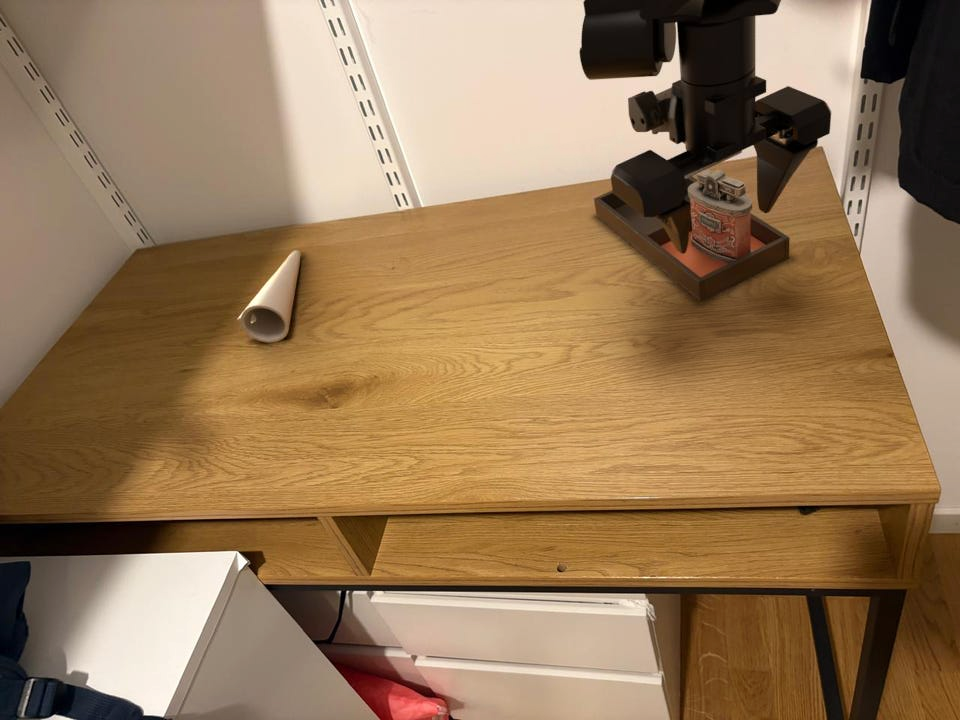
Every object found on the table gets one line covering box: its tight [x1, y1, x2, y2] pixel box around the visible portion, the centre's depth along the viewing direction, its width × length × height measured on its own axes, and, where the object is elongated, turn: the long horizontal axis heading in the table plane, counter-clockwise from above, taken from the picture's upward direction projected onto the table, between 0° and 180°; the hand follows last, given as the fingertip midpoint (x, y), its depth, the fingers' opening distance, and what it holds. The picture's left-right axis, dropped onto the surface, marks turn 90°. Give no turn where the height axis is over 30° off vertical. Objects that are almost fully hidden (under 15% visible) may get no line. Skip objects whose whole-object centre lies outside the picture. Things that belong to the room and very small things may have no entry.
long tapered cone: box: [236, 249, 302, 344], centre depth 101 cm, size 6×6×19 cm
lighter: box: [688, 169, 753, 264], centre depth 82 cm, size 8×3×10 cm, turn 34°
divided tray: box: [593, 176, 791, 303], centre depth 89 cm, size 12×23×3 cm, turn 23°
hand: (723, 231), depth 70 cm, fingers open, 9 cm apart
